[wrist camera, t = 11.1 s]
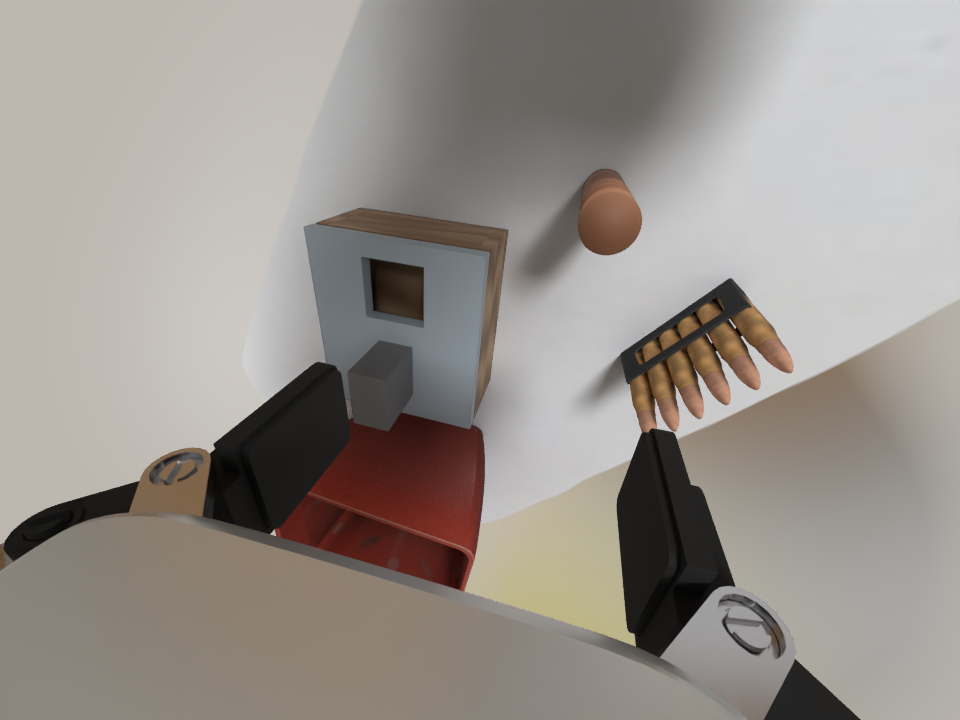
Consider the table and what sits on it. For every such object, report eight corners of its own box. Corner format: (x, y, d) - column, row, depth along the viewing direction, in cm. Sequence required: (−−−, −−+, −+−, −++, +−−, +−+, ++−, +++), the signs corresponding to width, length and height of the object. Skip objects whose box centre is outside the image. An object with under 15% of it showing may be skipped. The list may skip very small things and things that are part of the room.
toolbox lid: (313, 223, 29) (253, 244, 24) (489, 252, 26) (465, 281, 21) (339, 388, 37) (299, 429, 32) (473, 420, 35) (452, 470, 30)
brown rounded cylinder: (587, 166, 28) (585, 188, 18) (628, 171, 28) (650, 196, 17) (578, 208, 30) (572, 250, 20) (617, 213, 29) (631, 259, 19)
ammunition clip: (632, 366, 36) (648, 456, 26) (619, 354, 36) (630, 440, 26) (744, 293, 30) (819, 373, 20) (730, 277, 30) (799, 351, 20)
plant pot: (363, 472, 56) (287, 586, 42) (361, 369, 45) (258, 476, 31) (485, 513, 53) (448, 648, 39) (514, 415, 43) (476, 553, 29)
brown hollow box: (360, 207, 34) (316, 222, 29) (508, 229, 32) (490, 250, 27) (372, 353, 43) (340, 386, 38) (490, 379, 41) (473, 418, 35)
